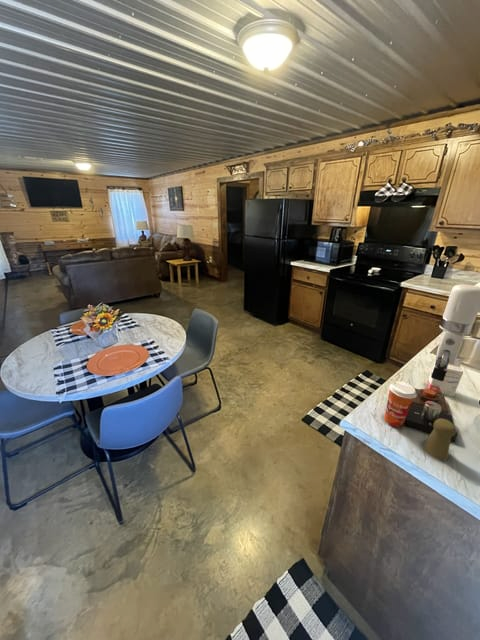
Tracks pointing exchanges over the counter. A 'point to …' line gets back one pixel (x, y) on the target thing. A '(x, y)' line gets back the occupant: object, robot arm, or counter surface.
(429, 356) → the counter surface
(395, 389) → the paper cup
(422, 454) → the counter surface
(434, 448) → the cork
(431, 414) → the knob
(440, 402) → the button block
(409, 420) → the panel
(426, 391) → the button
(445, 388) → the ink cartridge box
